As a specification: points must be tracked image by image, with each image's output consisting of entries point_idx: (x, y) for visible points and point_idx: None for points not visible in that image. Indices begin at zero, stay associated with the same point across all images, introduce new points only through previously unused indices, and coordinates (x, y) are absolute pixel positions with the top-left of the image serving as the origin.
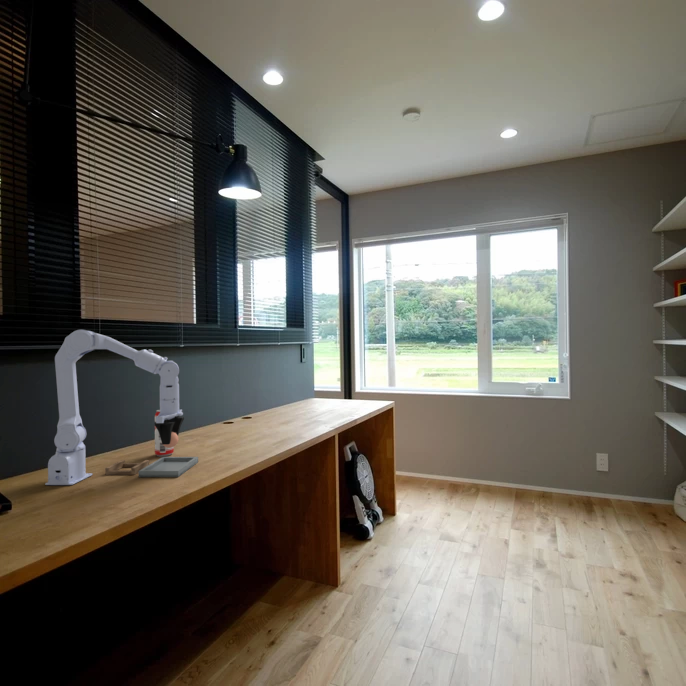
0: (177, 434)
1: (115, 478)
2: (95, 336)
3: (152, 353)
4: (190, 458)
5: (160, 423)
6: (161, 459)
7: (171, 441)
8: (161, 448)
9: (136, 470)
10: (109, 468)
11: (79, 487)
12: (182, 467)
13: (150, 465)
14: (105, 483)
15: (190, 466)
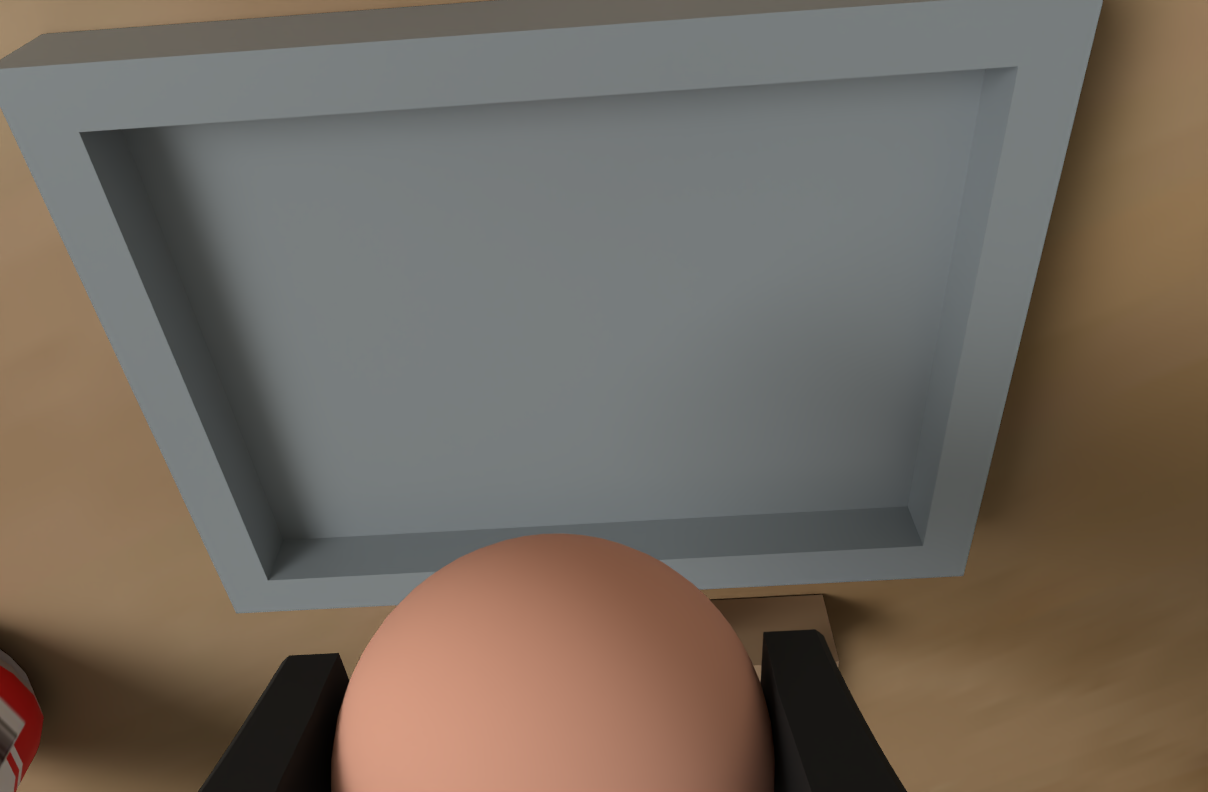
0: (285, 786)
1: (940, 681)
2: None
3: None
4: (116, 200)
5: None
6: (364, 575)
7: (738, 658)
8: None
9: (783, 626)
10: None
11: (1172, 781)
12: (844, 25)
13: (690, 566)
14: (1106, 680)
15: (453, 12)
